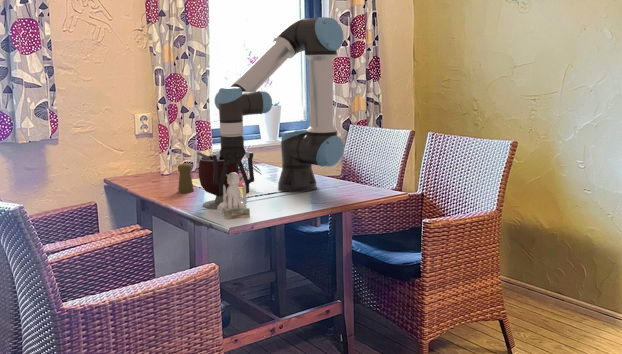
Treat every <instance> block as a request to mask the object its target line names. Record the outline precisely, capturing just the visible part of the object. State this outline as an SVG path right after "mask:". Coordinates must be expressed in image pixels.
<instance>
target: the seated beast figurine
mask: <svg viewBox="0 0 622 354" xmlns="http://www.w3.org/2000/svg"><path fill="white" fill-rule="evenodd" d="M226 176H227V184H229V186H228V188H227V190H226V203H224V202H222V203H220V204H219V205H218V207H217V208H218V209H217V211H220V212H222V211H223V210H228V209H232V208H234V209H242V208H247V204H245V203H244V202H243V196H242V195H241V189H240V187H239V185H240V184H241V181H242V180H243V176H242V175H241V176H240V175H239V174H237V173H235V172H233V173H230V174H229V175H227V174H226Z"/></svg>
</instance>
